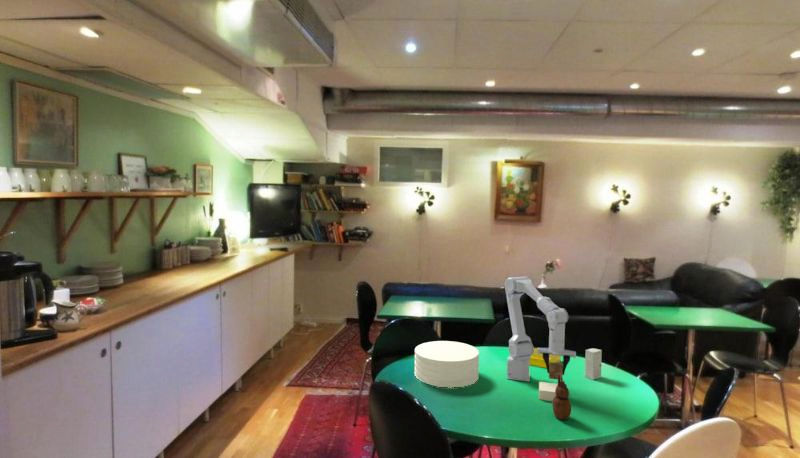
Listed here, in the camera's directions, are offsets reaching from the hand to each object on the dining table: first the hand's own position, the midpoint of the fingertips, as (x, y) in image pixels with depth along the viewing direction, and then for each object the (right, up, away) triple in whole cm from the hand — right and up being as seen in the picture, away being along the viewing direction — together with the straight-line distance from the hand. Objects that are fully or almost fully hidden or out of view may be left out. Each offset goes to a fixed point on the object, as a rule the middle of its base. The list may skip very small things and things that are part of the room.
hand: (555, 373), depth 188 cm
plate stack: (-42, -8, +20) cm, 47 cm away
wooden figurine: (-4, -10, -19) cm, 22 cm away
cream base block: (-2, -9, -1) cm, 10 cm away
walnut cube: (0, -2, 0) cm, 2 cm away
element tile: (+6, -7, +39) cm, 40 cm away
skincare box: (+23, -8, +20) cm, 32 cm away
